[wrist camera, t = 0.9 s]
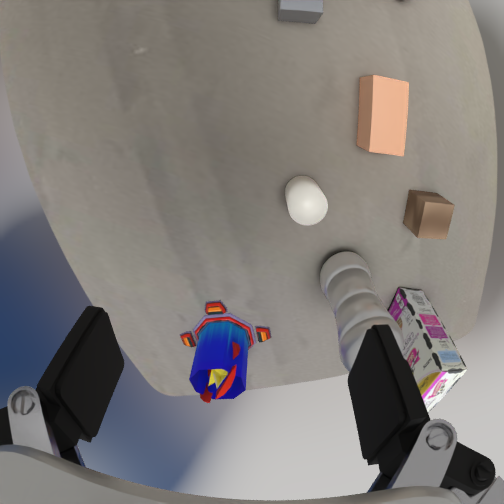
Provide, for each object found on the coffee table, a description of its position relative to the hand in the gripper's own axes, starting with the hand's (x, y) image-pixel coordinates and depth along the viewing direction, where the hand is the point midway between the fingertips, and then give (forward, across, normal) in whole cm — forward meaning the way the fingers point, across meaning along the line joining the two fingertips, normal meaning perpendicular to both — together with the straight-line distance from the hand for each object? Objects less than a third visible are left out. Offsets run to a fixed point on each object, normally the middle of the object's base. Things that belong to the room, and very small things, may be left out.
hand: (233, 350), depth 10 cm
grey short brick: (+26, -4, -21) cm, 33 cm away
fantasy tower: (+26, +4, +25) cm, 36 cm away
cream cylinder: (+26, -6, +2) cm, 26 cm away
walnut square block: (+26, -22, +2) cm, 34 cm away
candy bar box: (+26, -23, +20) cm, 40 cm away
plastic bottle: (+26, -12, +12) cm, 31 cm away
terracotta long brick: (+26, -13, -8) cm, 30 cm away
